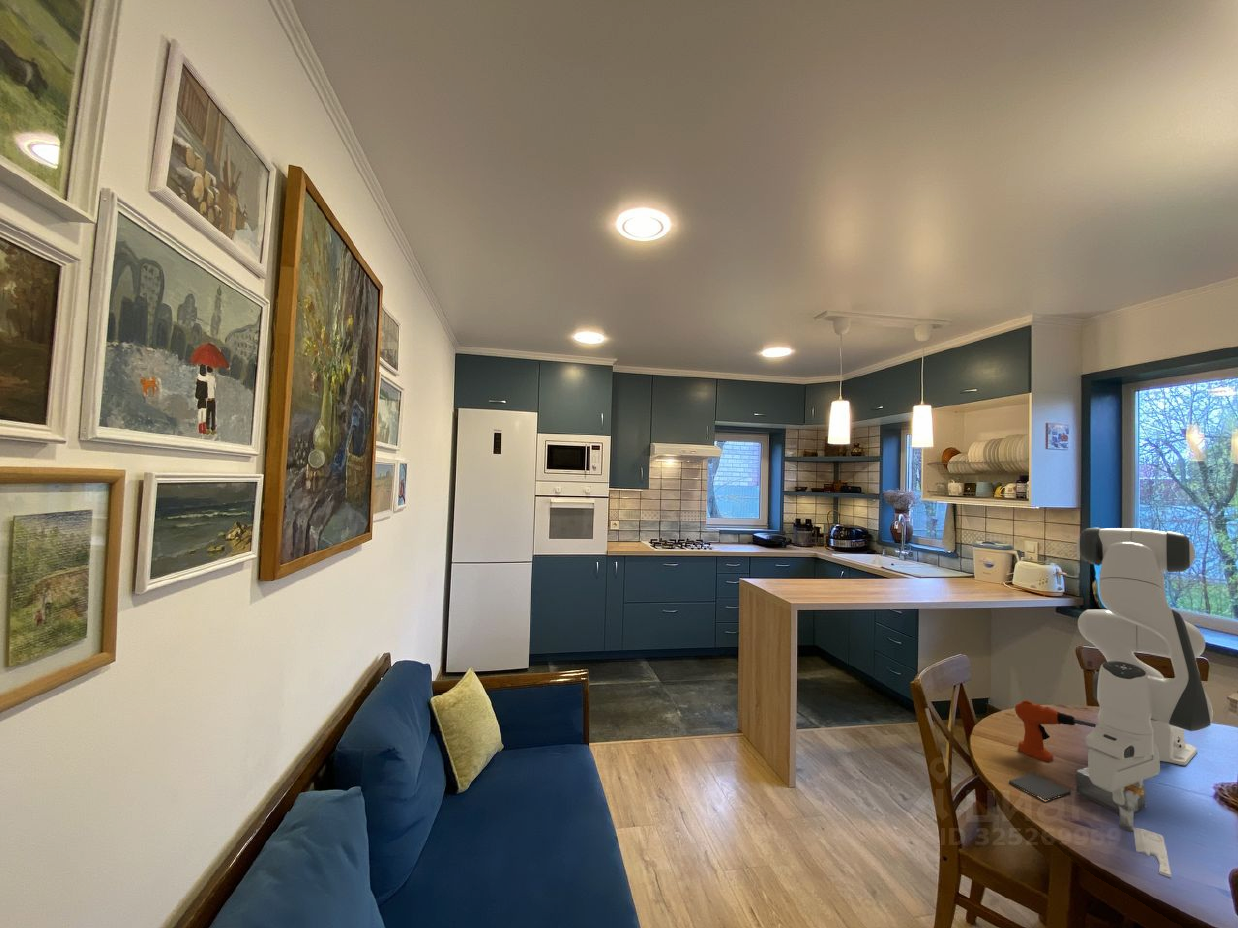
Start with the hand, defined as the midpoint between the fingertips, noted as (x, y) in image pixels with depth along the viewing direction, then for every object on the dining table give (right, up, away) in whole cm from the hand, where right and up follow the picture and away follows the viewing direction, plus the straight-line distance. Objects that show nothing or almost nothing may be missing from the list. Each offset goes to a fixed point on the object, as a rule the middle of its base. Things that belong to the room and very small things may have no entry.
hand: (1126, 800), depth 111 cm
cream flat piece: (-2, -6, -7) cm, 10 cm away
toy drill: (+7, -7, +26) cm, 28 cm away
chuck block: (+6, -7, +10) cm, 13 cm away
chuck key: (0, -6, 0) cm, 6 cm away
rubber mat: (-8, -7, +14) cm, 17 cm away
